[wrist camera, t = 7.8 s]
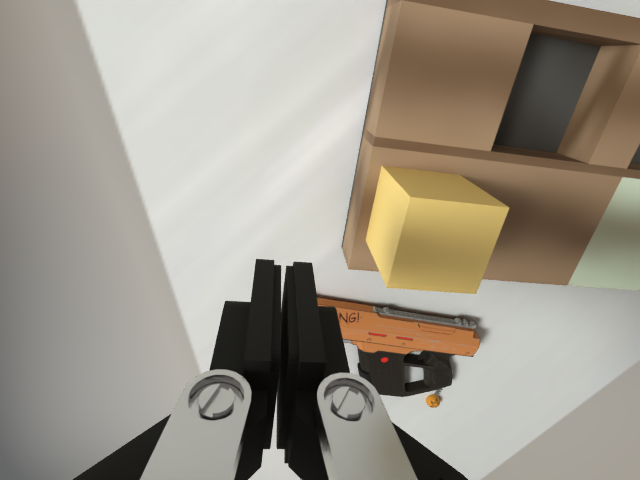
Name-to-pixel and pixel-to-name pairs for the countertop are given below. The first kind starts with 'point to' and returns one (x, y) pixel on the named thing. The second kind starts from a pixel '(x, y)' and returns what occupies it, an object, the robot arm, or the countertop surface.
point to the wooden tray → (514, 130)
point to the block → (432, 230)
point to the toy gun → (404, 346)
